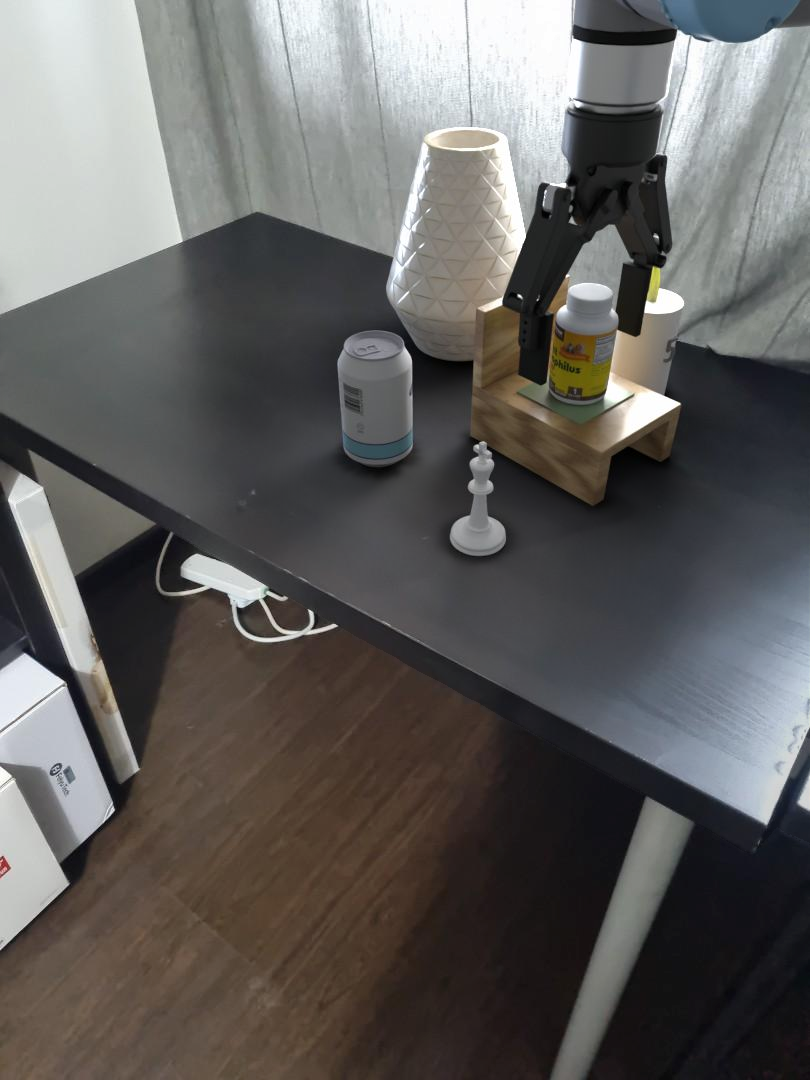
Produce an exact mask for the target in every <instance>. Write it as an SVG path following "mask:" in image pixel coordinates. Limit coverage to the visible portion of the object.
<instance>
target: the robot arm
mask: <svg viewBox="0 0 810 1080" xmlns="http://www.w3.org/2000/svg"><path fill="white" fill-rule="evenodd" d="M804 27H805V28H806V27H810V0H574V9H573V22H572V32H571V35H572V41H571V47H570V57H569V64H568V65H569V67H568V76H567V86H566V94H567V96H569V98H570V99H571V100H570V101H568V103H567V104H566V105H565V107H563V108H564V110H563V119H562V128H561V129H562V130H561V140H560V151H561V153H562V155H563V156H564V158H565V159H566V161H567V164H568V170H567V175H566V178H565V180H564V183H559V184H555V183H552V182H548V181H542V182H541V183H540V184H539V186H538V187H537V191H536V197H535V204H534V211H533V215H532V218H531V220H530V223H529V226H528V228H527V231H526V233H525V239H524V242H523V244H522V247H521V250H520V253H519V255H518V258H517V261H516V264H515V266H514V269H513V272H512V274H511V277H510V280H509V283H508V285H507V288H506V291H505V293H504V296H503V299H502V305H503V306H504V307H505V308H508V309H510V310H513V311H515V312H517V313H520V321H519V334H518V335H519V336H518V344H519V346H520V358H519V370H518V375H520V376H522V377H524V378H526V379H528V380H530V381H532V382H534V383H536V384H538V385H540V386H542V385H544V384H545V383H547V375H548V365H549V355H550V346H551V336H552V327H553V317H554V313H552V312H549V311H547V310H548V308H549V307H550V305H551V303H552V301H553V299H554V297H555V296H556V294H557V292H558V290H559V288H560V286H561V285H562V283H563V281H564V279H565V277H566V276H567V275H569V272H570V270H571V268H572V267H573V265H574V263H575V261H576V259H577V257H578V256H579V253H580V251H581V250H582V248H583V247H584V245H585V244H587V243H590V242H591V241H593V238H594V237H595V235H596V233H597V232H600V231H603V230H604V229H605V228H606V227H608V226H609V225H610V226H614V227H615V229H616V231H617V233H618V235H619V237H620V239H621V242H622V244H623V245H624V248H625V250H626V252H627V254H628V257H629V259H631V260H633V261H630V260H627V261H624V262H622V265H621V266H622V267H621V272H620V279H619V285H618V286H619V287H618V291H617V299H616V306H615V310H614V311H615V312H616V313H617V315H618V328H617V330H619V331H621V332H624V333H626V334H629V335H631V336H634V337H637V336H639V335H640V334H641V328H642V323H643V317H644V311H645V306H646V300H647V295H648V291H649V286H650V280H651V275H652V269H653V266H654V267H657V268H660V270H662V269H663V268H664V267H665V265H666V263H667V255H668V254H669V253H670V252H671V251H672V248H673V237H672V228H671V219H670V218H671V217H670V213H669V212H670V210H669V203H668V202H669V201H668V194H667V186H666V177H667V176H666V175H667V166H668V155H666V154H664V153H659V152H658V150H659V144H660V139H661V132H662V127H663V122H664V121H663V119H664V114H665V111H664V109H663V107H662V105H661V104H660V102H661V101H663V100H664V99H666V98H667V96H668V94H669V88H670V83H671V82H670V81H671V75H672V68H673V61H674V57H675V49H676V42H677V36H678V31H679V32H681V33H682V34H683V35H685V36H691V37H692V38H693V39H695V41H701V42H704V43H711V42H715V41H716V42H720V43H724V44H731V45H735V44H736V45H738V44H744V43H748V42H752V41H754V40H757V39H760V38H761V37H762V36H764V35H766V34H768V33H769V32H770V31H772V30H774V29H776V30H777V29H788V28H789V29H791V28H804ZM571 219H572V220H573V222H574V223H572V222H570V220H571ZM655 234H656V235H657V236H656V235H655ZM663 254H664V255H663ZM539 295H540V297H539V300H537V299H538V296H539Z"/></svg>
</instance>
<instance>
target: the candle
mask: <svg viewBox="0 0 810 1080" xmlns="http://www.w3.org/2000/svg"><path fill="white" fill-rule="evenodd" d="M660 285H661V269H660V268H657V267H654V266H653V269H652V275H651V280H650V286H649V291H648V295H647V300H646V306H645V311H644V317H643V323H642V328H641V334H640V335H639V336H637V337H634V336H631V335H629V334H626V333H624V332H621V331H619V330H617V334H616V340H615V346H614V352H613V357H612V363H611V369H610V372H612V373H614V374H616V375H618V376H621V377H623V378H625V379H627V380H630V381H632V382H634V383H636V384H639V385H641V386H643V387H645V388H647V389H650V390H652V391H654V392H656V393H659V394H661V395H663V396H665V393H666V390H667V389H666V388H667V385H668V384H667V383H668V380H669V376H670V375H669V374H670V371H671V366H672V361H673V358H674V357H675V354H676V343H677V341H678V340H679V336H678V334H679V329H680V324H681V319H682V315H683V310H684V305H685V302H684V299H683V298H682V296H680V295H678V294H677V293H675V292H673V291H670V290H668V289H664V288H660V287H661V286H660Z"/></svg>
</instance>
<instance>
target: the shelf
mask: <svg viewBox="0 0 810 1080" xmlns="http://www.w3.org/2000/svg"><path fill="white" fill-rule="evenodd" d="M570 278H571V277H570V275H569V274H567V276H566V277H565V279H564V281H563V283H562V285H561V286H560V288H559V290H558V292H557V294H556V296H555V297H554V299H553V301H552V303H551V305H550V307H549V308H548V310H547V311H549V312H552V313H554V317H553V327H552V336H551V346H550V355H549V365H548V375H547V383H545V384H544V385H542V386H540V385H538V384H536V383H534V382H532V381H530V380H528V379H526V378H524V377H522V376H520V375H518V370H519V358H520V346H519V344H518V336H519V335H518V334H519V321H520V313H517V312H515V311H513V310H510V309H508V308H505V307H504V306H503V305H502V299H503V297H502V298H500V299H497V300H495V301H493V302H490V303H488V304H486V305H483V306H481V307H478V308H476V321H475V345H474V360H473V370H472V391H471V393H472V396H471V415H470V437H472V438H474V439H475V440H477V441H479V443H480V442H482V441H484V442H486V443H487V447H489V448H491V449H493V450H494V451H496V452H498V453H500V454H501V455H503V456H505V457H507V458H508V459H510V460H512V461H514V462H515V463H517V464H519V465H520V466H522V467H524V468H526V469H527V470H529V471H531V472H533V473H535V474H536V475H538V476H540V477H542V478H543V479H545V480H546V481H548V482H550V483H551V484H554V485H555V486H557V487H559V488H560V489H563V490H564V491H566V492H568V493H569V494H570V495H572V496H575V497H577V498H578V499H580V500H581V501H583V502H585V503H586V504H588V505H590V506H592V507H594V506H595V505H598V503H600V502H601V501H603V500H604V499H605V494H606V488H607V482H608V478H609V472H610V465H611V460H612V457H613V456H615V455H616V454H618V453H620V452H621V451H622V450H624V449H626V448H627V447H630V448H631V449H634V450H636V451H637V452H640V453H642V454H643V455H646V456H647V457H649V458H652V459H653V460H655V461H658V462H660V463H661V462H663V461H664V460H666V459H667V458H669V457H670V456H671V453H672V448H673V444H674V440H675V435H676V430H677V426H678V422H679V418H680V413H681V408H682V403H681V402H679V401H676V400H674V399H672V398H670V397H668V396H665V395H664V396H663V395H661V394H659V393H656V392H654V391H652V390H650V389H647V388H645V387H643V386H641V385H639V384H636V383H634V382H632V381H630V380H627V379H625V378H623V377H621V376H618V375H616V374H614V373H612V372H610V375H609V381H608V387H607V392H606V394H605V396H604V397H603V398H602V399H601V400H599V401H597V402H595V403H593V404H588V405H573V404H568V403H565V402H562V401H560V400H558V399H557V398H555V397H554V396H553V395H552V394H551V392H550V390H549V375H550V367H551V358H552V349H553V341H554V332H555V322H556V316H557V313H558V311H559V309H560V308H561V307H563V306H564V305H566V304H567V303H566V300H567V297H568V290H569V288H570V287H569V285H570ZM539 297H540V295H539V296H538V299H537V300H539Z"/></svg>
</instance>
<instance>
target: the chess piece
mask: <svg viewBox="0 0 810 1080" xmlns="http://www.w3.org/2000/svg"><path fill="white" fill-rule="evenodd" d="M487 447H488V446H487V443H486V442H484V441H482V442H480V441H479V442H478V444H475V445H473V452H475V453H477V454H478V456H476V457H473V458H472V459H471V460H470V461H469V468H470V471H471V473H472V476H473V477H472V478H473V479H472V480H470V481H469V482H468V485H467V489H468V491H469V492H470V493H471V494H472V495H473V500H472V505H471V510H470V514H469V515H466V516H463V517H461V518H459V519H458V520H456V521H455V522H454V523H453V524H452V526H451V529H450V533H449V540H450V543H451V545H452V546H453V548H455V549H456V550H458V551H459V552H461V553H463V554H465V555H468V556H474V557H483V556H484V557H485V556H491V555H493V554H495V553H498V552H499V551H500V550H501V549H502V548H503V547H504V545H505V544H506V541H507V536H506V529H505V527H504V525H503V524H502V523H501V522H500V521H499V520H497V519H495V518H494V517H491V516H489V514H488V502H487V495H489V494H491V493H492V492H493V491H494V485H493V484H494V483H493V482H492V481H491V480H489V479H490V476H491V473H492V472H493V470H494V469H495V462H494V460H493V459H492V458H493V453H492V452H491V451H490V450H488V449H487Z"/></svg>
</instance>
